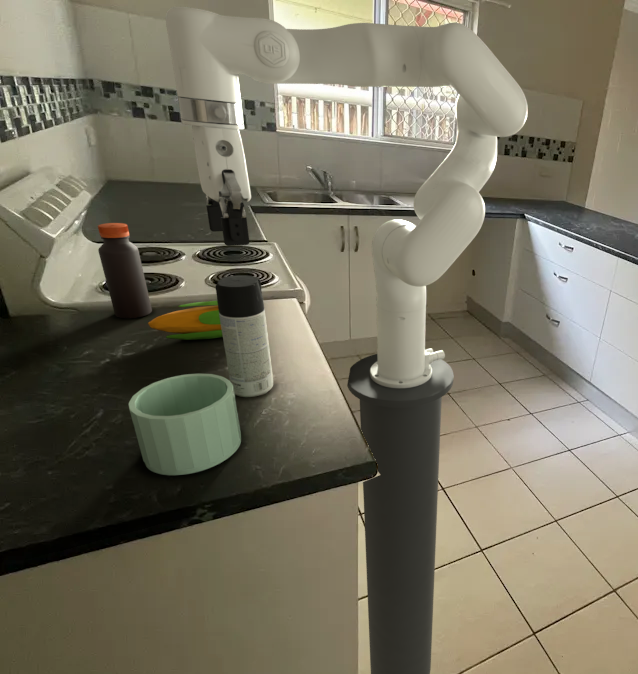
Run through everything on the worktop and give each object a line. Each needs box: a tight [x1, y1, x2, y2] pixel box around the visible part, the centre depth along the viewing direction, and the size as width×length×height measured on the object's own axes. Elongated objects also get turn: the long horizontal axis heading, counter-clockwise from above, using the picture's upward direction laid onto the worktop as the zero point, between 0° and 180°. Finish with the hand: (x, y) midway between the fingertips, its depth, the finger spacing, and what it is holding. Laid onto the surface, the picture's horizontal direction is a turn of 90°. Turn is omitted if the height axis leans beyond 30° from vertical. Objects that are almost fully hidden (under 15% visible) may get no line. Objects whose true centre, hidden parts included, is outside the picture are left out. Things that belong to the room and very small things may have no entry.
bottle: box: [97, 222, 153, 319], centre depth 104 cm, size 7×7×20 cm
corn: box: [147, 300, 223, 341], centre depth 99 cm, size 7×8×20 cm
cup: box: [127, 373, 242, 476], centre depth 66 cm, size 12×12×9 cm
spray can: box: [215, 274, 274, 398], centre depth 80 cm, size 7×7×20 cm
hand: (229, 237), depth 73 cm, fingers open, 9 cm apart
